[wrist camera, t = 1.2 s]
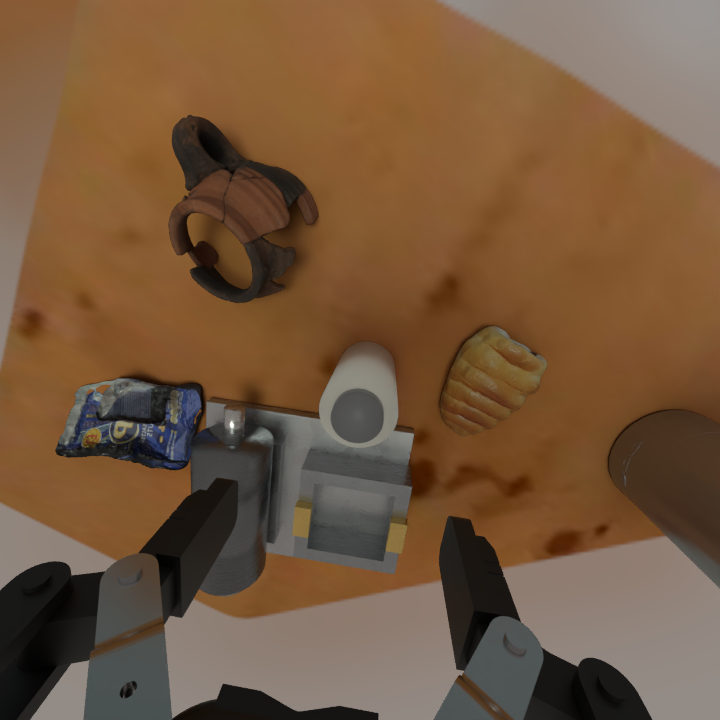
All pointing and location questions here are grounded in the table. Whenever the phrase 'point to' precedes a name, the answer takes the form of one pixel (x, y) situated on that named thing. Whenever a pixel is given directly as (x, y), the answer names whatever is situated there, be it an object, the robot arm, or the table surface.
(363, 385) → the white cylinder roll
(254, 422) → the motor unit
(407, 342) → the table surface
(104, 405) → the snack package
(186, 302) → the table surface
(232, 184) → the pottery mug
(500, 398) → the pastry
